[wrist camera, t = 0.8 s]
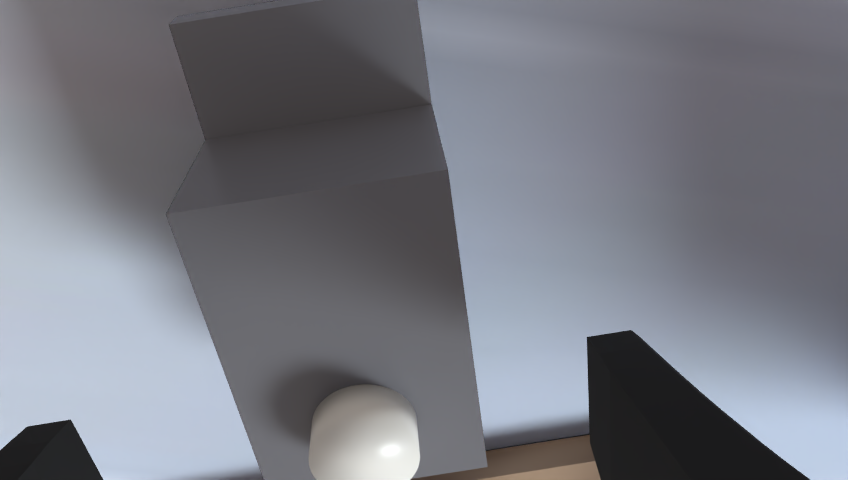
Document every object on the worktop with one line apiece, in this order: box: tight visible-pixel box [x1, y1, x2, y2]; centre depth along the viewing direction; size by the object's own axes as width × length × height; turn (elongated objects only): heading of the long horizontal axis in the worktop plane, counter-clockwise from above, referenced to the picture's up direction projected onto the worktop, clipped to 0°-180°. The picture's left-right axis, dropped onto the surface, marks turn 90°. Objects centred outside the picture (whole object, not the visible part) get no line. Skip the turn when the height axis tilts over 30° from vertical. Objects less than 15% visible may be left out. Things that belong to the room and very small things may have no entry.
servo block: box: [166, 0, 488, 480], centre depth 14 cm, size 4×10×7 cm, turn 8°
